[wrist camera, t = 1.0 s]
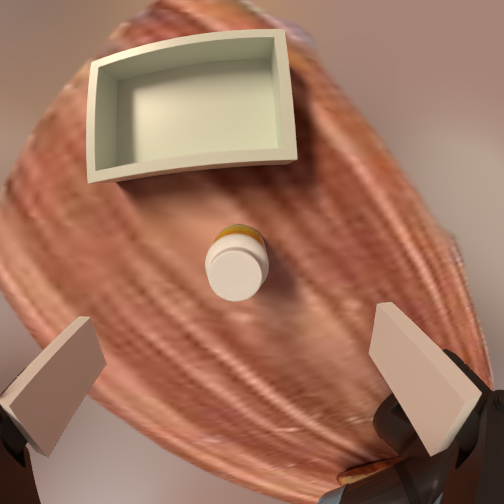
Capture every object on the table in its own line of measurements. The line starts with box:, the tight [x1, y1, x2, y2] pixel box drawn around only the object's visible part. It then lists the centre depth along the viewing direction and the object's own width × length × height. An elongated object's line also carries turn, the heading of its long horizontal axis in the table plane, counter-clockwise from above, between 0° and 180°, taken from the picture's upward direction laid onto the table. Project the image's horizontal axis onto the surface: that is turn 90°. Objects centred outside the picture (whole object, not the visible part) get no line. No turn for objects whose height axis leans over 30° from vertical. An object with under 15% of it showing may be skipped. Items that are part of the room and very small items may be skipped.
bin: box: [86, 29, 297, 184], centre depth 22 cm, size 13×19×6 cm
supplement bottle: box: [205, 224, 269, 302], centre depth 24 cm, size 5×5×10 cm
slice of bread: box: [337, 457, 401, 486], centre depth 41 cm, size 18×18×4 cm
